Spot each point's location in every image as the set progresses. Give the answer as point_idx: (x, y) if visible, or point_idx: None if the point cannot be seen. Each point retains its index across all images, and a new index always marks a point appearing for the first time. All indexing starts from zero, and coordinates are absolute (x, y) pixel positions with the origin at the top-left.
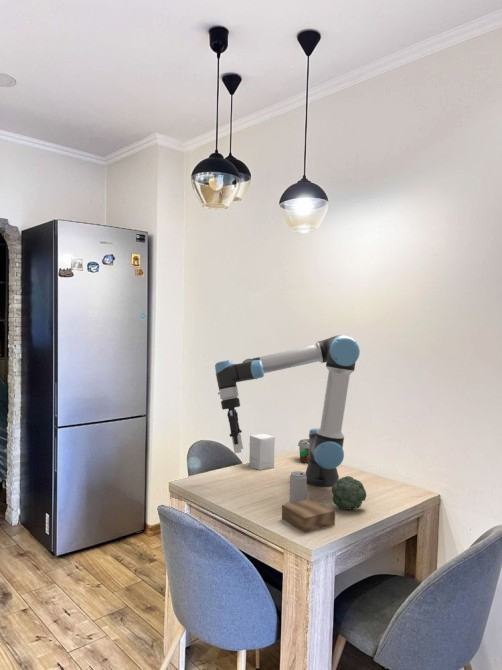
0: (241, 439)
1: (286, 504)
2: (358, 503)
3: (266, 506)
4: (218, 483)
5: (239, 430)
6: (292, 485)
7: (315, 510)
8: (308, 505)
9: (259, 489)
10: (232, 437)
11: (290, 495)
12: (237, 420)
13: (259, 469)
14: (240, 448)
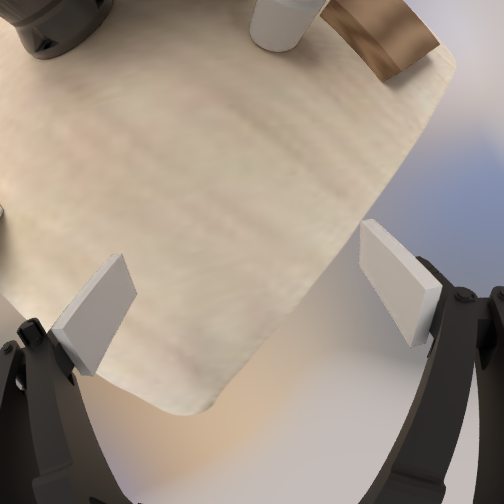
0: (81, 291)
1: (395, 60)
2: None
3: (314, 115)
4: (145, 311)
5: (42, 349)
6: (312, 18)
7: (400, 12)
8: (380, 15)
9: (162, 158)
10: (424, 332)
11: (295, 39)
12: (77, 480)
13: (1, 211)
14: (384, 231)
